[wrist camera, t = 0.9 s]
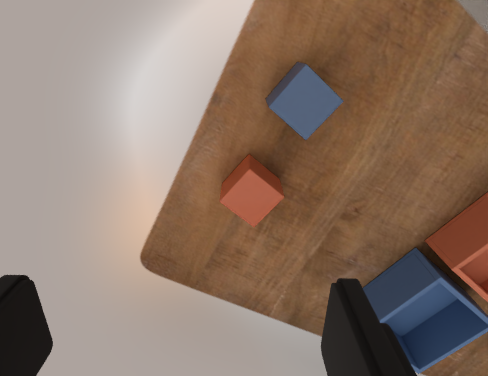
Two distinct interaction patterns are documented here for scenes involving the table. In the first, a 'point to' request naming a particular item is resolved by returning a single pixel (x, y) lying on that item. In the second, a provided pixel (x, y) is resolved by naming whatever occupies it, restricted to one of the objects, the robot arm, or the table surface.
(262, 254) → the table surface
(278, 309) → the table surface
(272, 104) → the blue block
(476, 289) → the terracotta bin
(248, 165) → the terracotta block
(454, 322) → the blue bin
